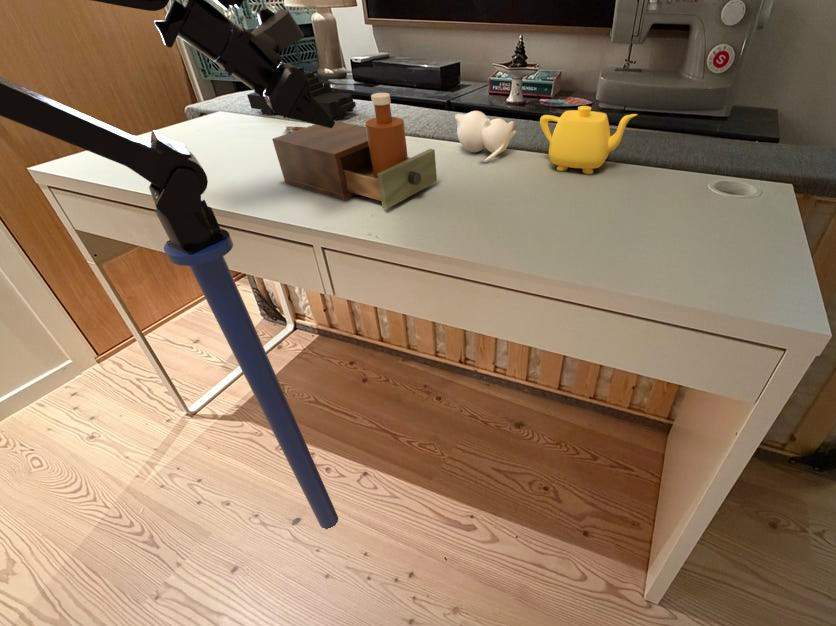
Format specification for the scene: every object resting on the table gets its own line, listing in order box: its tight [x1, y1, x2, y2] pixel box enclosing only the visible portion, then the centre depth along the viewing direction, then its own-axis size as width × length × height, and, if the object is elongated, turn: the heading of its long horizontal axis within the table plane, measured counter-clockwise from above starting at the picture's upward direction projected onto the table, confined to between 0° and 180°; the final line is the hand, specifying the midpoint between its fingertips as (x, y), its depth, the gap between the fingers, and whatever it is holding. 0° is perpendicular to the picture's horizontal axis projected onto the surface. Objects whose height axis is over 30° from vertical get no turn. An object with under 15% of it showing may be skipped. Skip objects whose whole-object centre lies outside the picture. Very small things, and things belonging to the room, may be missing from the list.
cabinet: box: [271, 120, 369, 201], centre depth 86 cm, size 16×14×8 cm
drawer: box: [340, 148, 438, 210], centre depth 82 cm, size 18×14×6 cm
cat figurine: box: [454, 110, 517, 164], centre depth 96 cm, size 9×11×12 cm
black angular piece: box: [246, 66, 357, 119], centre depth 121 cm, size 12×29×10 cm, turn 67°
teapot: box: [539, 105, 638, 175], centre depth 89 cm, size 18×11×11 cm, turn 71°
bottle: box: [364, 92, 408, 178], centre depth 79 cm, size 6×6×14 cm
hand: (324, 118), depth 73 cm, fingers open, 9 cm apart
